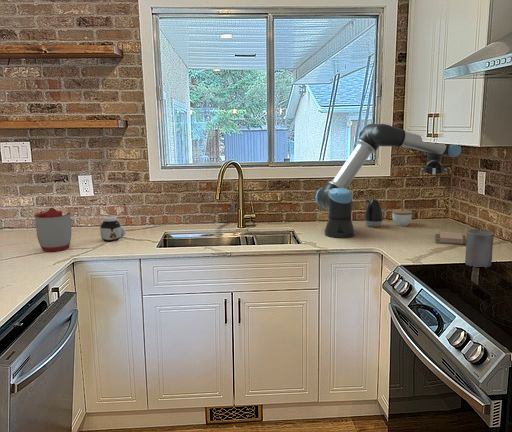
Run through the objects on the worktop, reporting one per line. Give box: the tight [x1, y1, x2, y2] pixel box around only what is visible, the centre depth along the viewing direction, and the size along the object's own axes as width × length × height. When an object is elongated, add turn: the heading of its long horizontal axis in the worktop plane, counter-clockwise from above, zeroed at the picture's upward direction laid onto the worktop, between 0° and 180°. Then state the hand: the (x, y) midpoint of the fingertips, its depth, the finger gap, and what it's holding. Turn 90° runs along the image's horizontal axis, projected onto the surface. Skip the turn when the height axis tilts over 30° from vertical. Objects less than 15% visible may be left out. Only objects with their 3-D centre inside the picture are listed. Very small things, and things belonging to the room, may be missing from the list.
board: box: [434, 233, 467, 246], centre depth 232 cm, size 18×14×1 cm
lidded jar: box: [391, 208, 413, 227], centre depth 267 cm, size 11×11×9 cm
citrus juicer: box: [33, 207, 73, 253], centre depth 223 cm, size 16×17×20 cm
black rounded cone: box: [363, 198, 384, 228], centre depth 264 cm, size 10×10×15 cm
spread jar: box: [99, 215, 127, 243], centre depth 242 cm, size 12×11×12 cm
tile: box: [439, 231, 463, 244], centre depth 230 cm, size 2×10×13 cm
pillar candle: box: [464, 228, 495, 269], centre depth 190 cm, size 10×10×15 cm
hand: (434, 171), depth 239 cm, fingers closed
